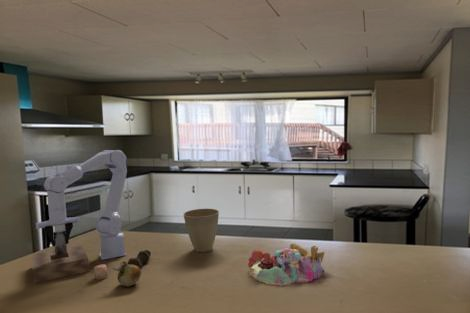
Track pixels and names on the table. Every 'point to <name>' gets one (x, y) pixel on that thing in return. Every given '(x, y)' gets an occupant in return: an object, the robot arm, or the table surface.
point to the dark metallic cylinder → (60, 242)
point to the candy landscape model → (286, 265)
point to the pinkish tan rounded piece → (100, 272)
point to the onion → (127, 274)
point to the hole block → (59, 264)
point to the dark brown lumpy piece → (140, 259)
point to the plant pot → (202, 228)
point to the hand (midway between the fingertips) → (60, 244)
